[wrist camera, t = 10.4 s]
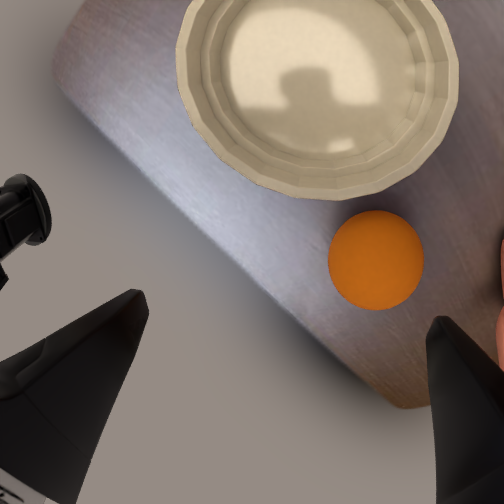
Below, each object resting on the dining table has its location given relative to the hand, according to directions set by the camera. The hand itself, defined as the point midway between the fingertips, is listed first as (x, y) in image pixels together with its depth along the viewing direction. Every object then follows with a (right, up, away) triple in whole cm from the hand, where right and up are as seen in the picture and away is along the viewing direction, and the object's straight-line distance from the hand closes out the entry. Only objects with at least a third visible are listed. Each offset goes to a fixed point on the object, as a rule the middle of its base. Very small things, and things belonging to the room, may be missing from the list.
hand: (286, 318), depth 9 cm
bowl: (+3, +13, +7) cm, 14 cm away
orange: (+7, +3, +12) cm, 14 cm away
